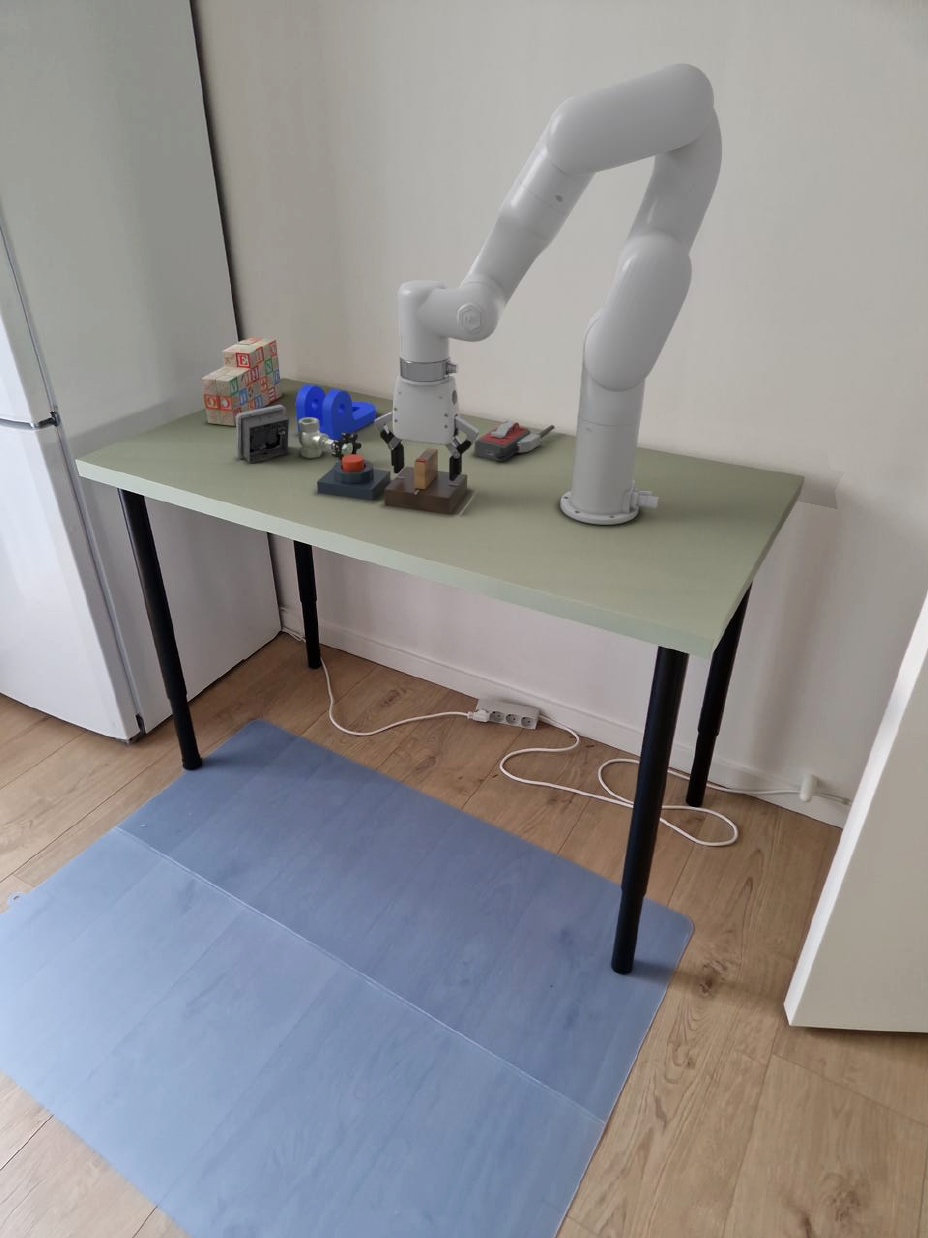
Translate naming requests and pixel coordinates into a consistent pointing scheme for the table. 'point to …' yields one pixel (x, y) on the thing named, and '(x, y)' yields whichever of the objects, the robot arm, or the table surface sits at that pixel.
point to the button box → (354, 482)
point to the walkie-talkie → (507, 441)
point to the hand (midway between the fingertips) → (426, 474)
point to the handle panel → (425, 492)
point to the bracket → (333, 410)
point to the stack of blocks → (242, 381)
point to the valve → (323, 440)
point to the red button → (353, 462)
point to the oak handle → (426, 468)
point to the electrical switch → (262, 433)
